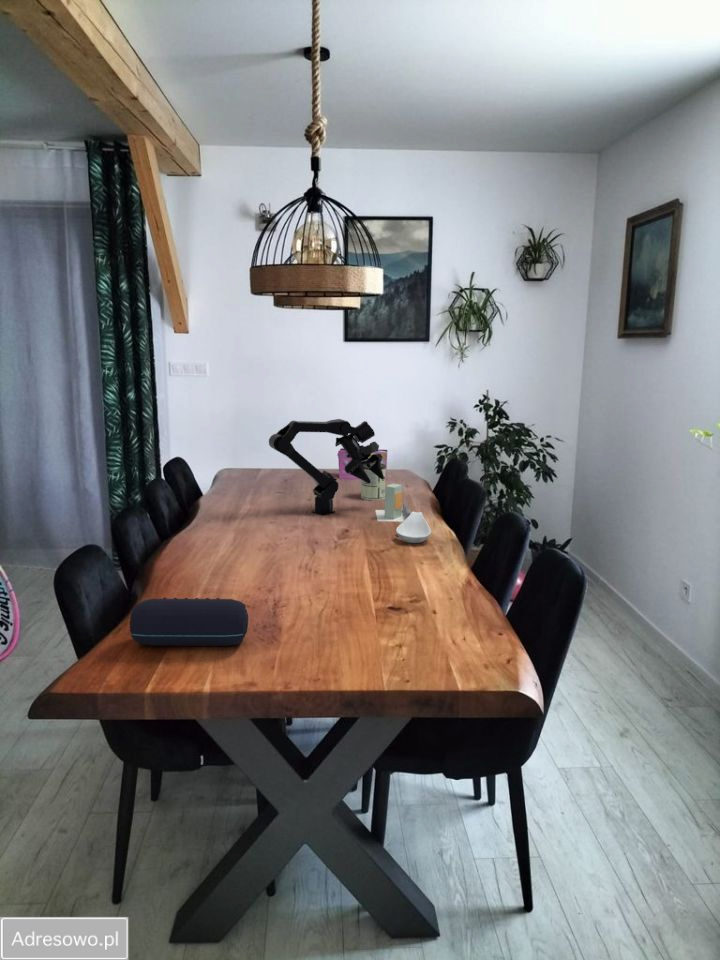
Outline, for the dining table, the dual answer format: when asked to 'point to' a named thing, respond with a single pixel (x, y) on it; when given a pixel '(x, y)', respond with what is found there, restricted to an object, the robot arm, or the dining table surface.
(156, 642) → the portable speaker
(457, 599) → the dining table surface
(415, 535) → the spoon rest
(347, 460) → the pink printed box
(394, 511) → the green carton
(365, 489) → the coffee can
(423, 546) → the dining table surface
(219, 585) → the dining table surface
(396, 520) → the white plate with rail
